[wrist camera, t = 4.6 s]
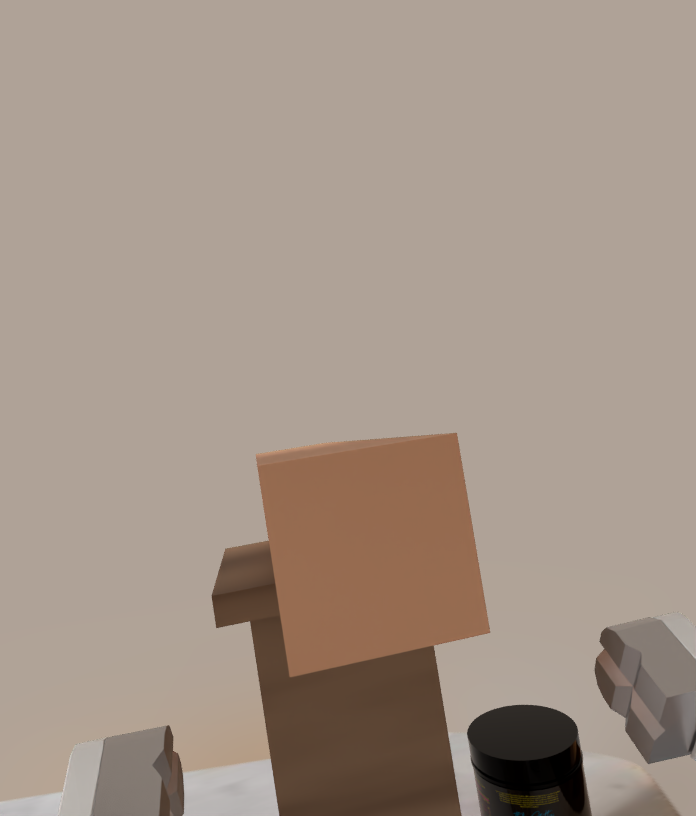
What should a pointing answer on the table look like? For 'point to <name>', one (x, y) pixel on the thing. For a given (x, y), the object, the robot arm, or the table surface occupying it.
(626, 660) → the robot arm
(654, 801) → the table surface
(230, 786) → the table surface
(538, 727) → the supplement container
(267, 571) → the walnut tower
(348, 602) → the terracotta beam
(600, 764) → the table surface
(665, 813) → the table surface
